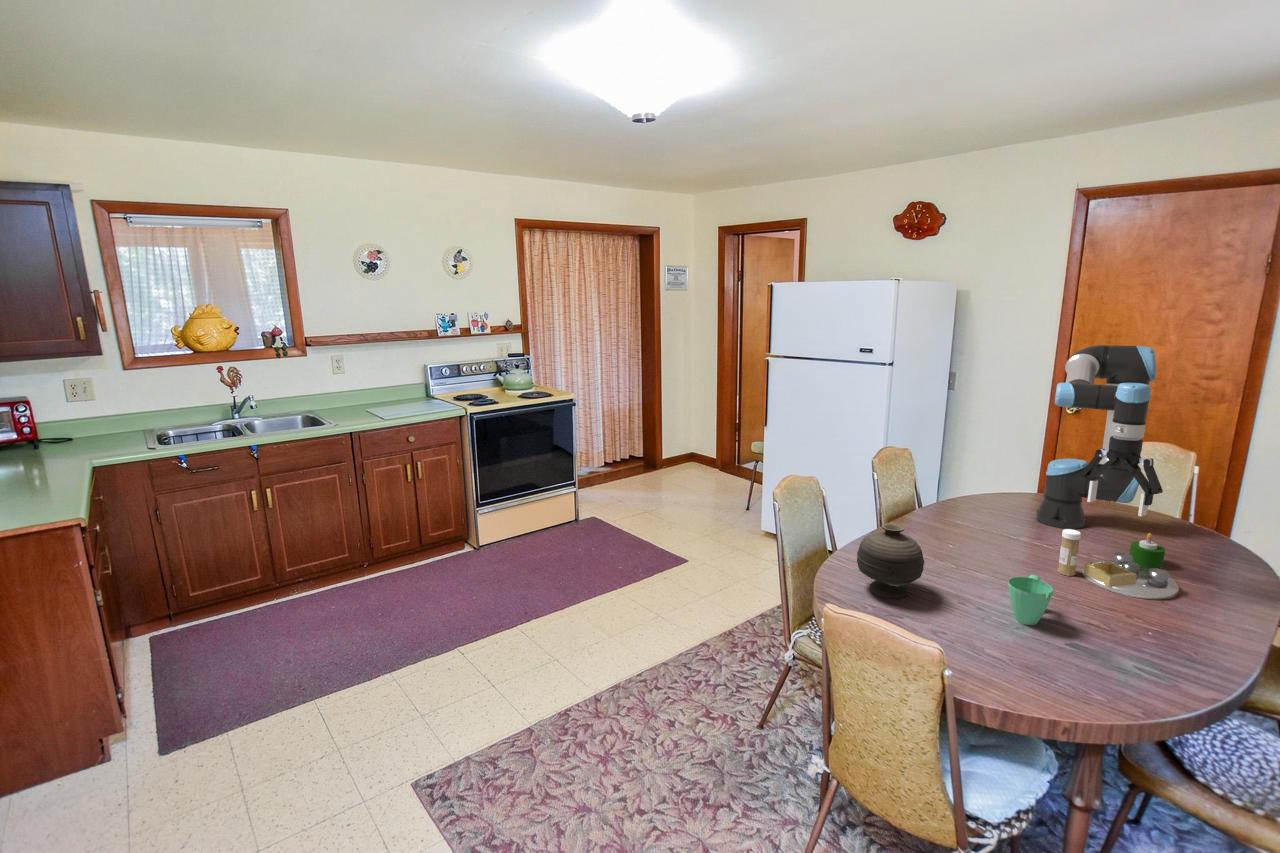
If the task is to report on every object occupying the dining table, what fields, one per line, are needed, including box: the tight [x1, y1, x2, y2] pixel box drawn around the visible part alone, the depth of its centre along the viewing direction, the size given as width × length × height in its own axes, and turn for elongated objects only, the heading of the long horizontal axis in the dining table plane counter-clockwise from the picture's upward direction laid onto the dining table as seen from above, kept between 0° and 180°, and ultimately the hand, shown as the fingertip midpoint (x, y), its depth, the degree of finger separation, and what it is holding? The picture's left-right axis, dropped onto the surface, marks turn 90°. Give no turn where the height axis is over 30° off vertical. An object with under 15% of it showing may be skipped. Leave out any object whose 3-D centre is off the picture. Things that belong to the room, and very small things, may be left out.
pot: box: [856, 522, 925, 600], centre depth 177 cm, size 18×18×20 cm
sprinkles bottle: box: [1057, 528, 1082, 577], centre depth 185 cm, size 5×5×14 cm
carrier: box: [1081, 551, 1179, 601], centre depth 180 cm, size 22×22×6 cm
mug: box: [1007, 574, 1054, 626], centre depth 162 cm, size 15×10×10 cm
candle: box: [1128, 532, 1166, 569], centre depth 191 cm, size 8×8×10 cm
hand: (1115, 508), depth 181 cm, fingers open, 13 cm apart
